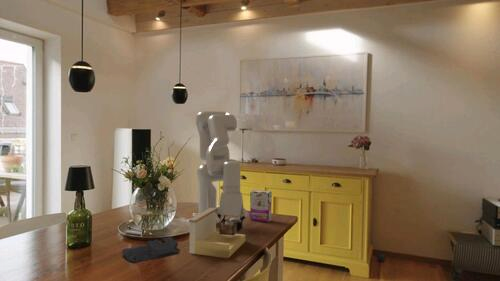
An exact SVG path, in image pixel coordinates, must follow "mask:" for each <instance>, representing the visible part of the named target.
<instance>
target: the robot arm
mask: <svg viewBox="0 0 500 281" xmlns="http://www.w3.org/2000/svg"><path fill="white" fill-rule="evenodd" d="M195 124H196V129H197V130H198V135H199V156H200V157H199V159H200V160H201V161H203V162H205V164H201V165H200V166H198V167H197V171H196V172H197V173H196V174H197V179H198V180H197V181H198V213H195V212H194V213H193V212H192V217H191V218H193V217H195V216H196V215H198V214H200V213H202V212H204V211H206V210H207V209H209V208H217V209H216V210H215V211H214V212H215V213H216V225H218V224H221V223H222V222H224V221H225V220H226V217H235V218H237V219H238V222H237V231H238V232H241V230H242V229H243V228H242V221H243V222H244V220H245V219H246V218H247V217H248V216H250V212H248V210H247V209H246V208H244V199H243V194H242V192H241V162H239V161H237V160H236V159H232V158H231V159H230V149H229V146H228V145H229V143H230V137H229V133H228V132H234V131H236V130H237V129H238V128H237V127H238V120H237V119H236V117H235V115H234V114H232V113H230V112H228V111H213V110H211V111H210V110H209V111H208V110H206V111H200V112H198V113H197V114H196V118H195ZM213 182H222V185H220V186H219V188H220V190H222V191H221V192H220V197H219V205H218V207H217V201H218V200H217V195H218V193H217V188H216V186H215V185H214V184H213ZM218 218H219V219H218Z"/></svg>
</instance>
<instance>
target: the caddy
mask: <svg viewBox="0 0 500 281" xmlns="http://www.w3.org/2000/svg"><path fill="white" fill-rule="evenodd" d="M225 219H226V218H225ZM237 222H238V219H237V217H228V218H227V219H226V220H225V221H224V222H222V223H221V222H220V223H218V224H219V226H218V228H219V231H218V232H219V234H224V235H235V234H238V233H239V231H237ZM243 222H244V220H243V221H242V229H243V228H244V227H243V226H244V225H243V224H244V223H243Z"/></svg>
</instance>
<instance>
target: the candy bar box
mask: <svg viewBox="0 0 500 281" xmlns="http://www.w3.org/2000/svg"><path fill="white" fill-rule="evenodd" d="M249 194H250V195H249V196H250V198H249V199H250V202H249V203H250V205H249V207H250V211H249V217H250V218H249V220H250V221H254V222H263V223H270V222H271V221H272V197H273V196H272V191H271V190H269V191H268V190H259V189H258V190H257V189H253V190H251V191H250V193H249Z"/></svg>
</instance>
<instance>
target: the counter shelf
mask: <svg viewBox="0 0 500 281" xmlns="http://www.w3.org/2000/svg"><path fill="white" fill-rule="evenodd" d="M217 208H218V207H216V208H209V209H207V210H206V211H204V212H202V213H200V214H198V213H197V214H198V215H196V216H195V217H191V218H189V219H188V223H189V250H188V252H189V254H192V255H199V256H207V257H208V256H209V257H214V258H215V257H216V258H223V259H229V258H230V257H231V256H232V255H233V254H234V253H235V252H236V251H237V250H238V249H239V248H240V247H241V246H242V245H243V244H244V243H245V242H246V234H241V233H236V234H235V235H224V234H219V231H217V224H216V218H217V214H216V213H215V212H214V211H215V210H216V209H217Z"/></svg>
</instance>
